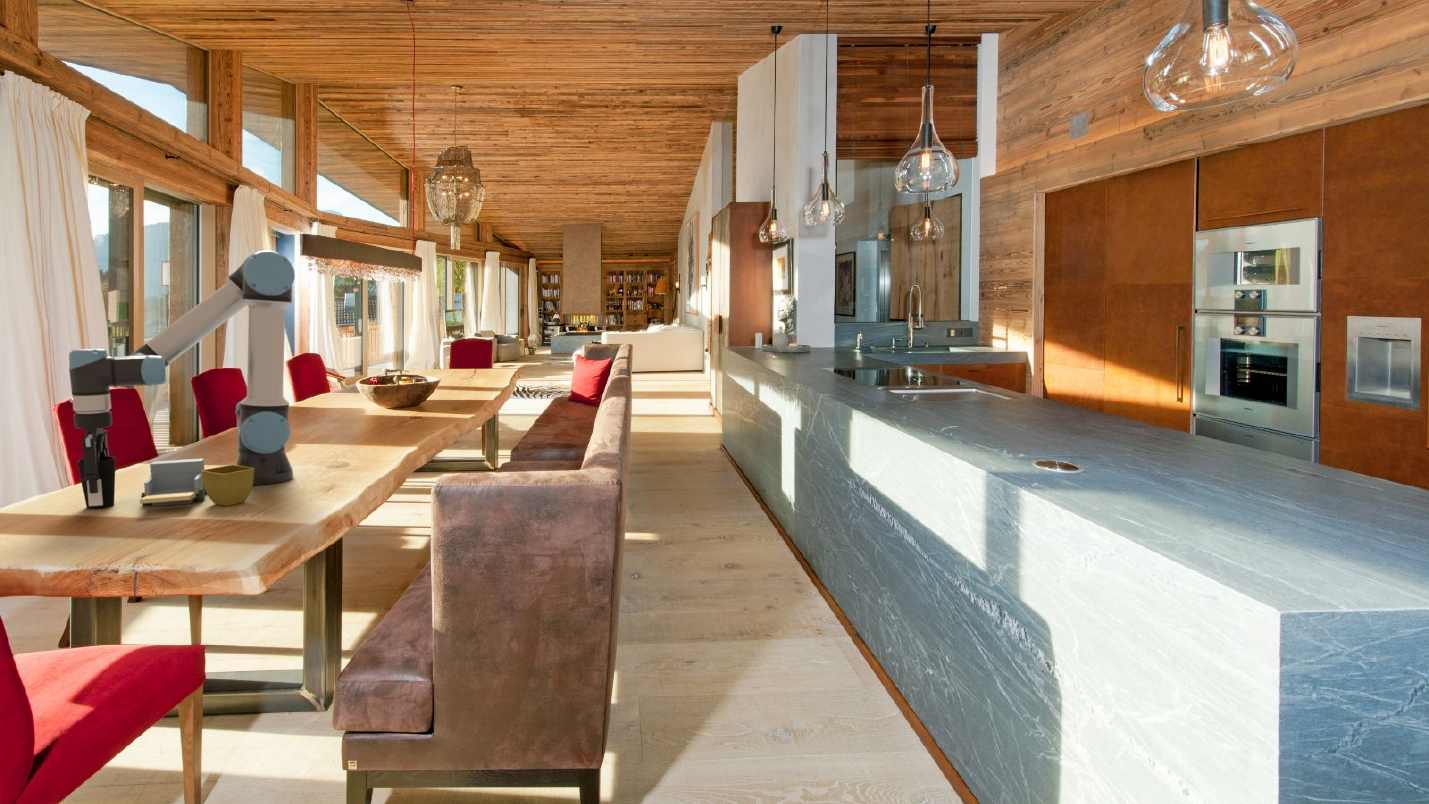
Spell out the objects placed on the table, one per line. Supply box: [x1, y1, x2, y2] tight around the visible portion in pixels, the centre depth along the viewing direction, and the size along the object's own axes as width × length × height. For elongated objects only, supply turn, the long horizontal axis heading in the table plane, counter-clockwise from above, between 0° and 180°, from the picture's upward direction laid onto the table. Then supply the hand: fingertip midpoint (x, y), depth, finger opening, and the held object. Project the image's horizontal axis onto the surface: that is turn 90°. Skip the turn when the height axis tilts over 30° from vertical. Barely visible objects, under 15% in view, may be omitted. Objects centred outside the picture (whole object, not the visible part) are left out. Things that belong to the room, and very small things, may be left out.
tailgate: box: [139, 492, 197, 505], centre depth 205 cm, size 10×1×9 cm
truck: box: [140, 458, 207, 507], centre depth 215 cm, size 13×14×9 cm
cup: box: [76, 455, 117, 510], centre depth 207 cm, size 8×8×12 cm
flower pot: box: [201, 464, 254, 507], centre depth 211 cm, size 9×9×9 cm
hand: (100, 501), depth 207 cm, fingers closed on cup, 8 cm apart
